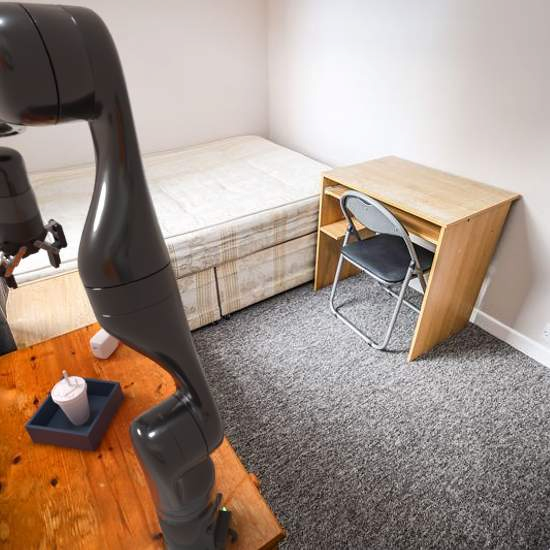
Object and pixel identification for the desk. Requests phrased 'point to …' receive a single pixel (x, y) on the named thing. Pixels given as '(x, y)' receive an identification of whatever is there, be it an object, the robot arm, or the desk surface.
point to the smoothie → (72, 398)
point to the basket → (58, 427)
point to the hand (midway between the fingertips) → (35, 275)
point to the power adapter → (103, 344)
